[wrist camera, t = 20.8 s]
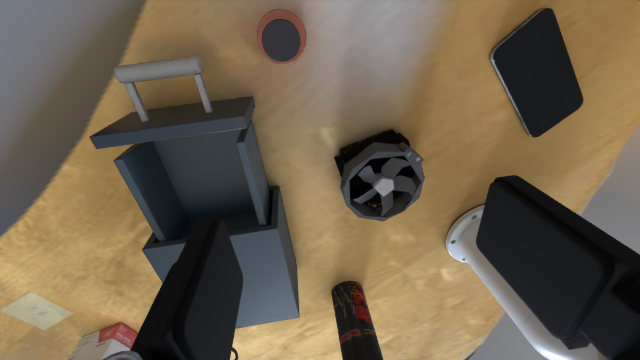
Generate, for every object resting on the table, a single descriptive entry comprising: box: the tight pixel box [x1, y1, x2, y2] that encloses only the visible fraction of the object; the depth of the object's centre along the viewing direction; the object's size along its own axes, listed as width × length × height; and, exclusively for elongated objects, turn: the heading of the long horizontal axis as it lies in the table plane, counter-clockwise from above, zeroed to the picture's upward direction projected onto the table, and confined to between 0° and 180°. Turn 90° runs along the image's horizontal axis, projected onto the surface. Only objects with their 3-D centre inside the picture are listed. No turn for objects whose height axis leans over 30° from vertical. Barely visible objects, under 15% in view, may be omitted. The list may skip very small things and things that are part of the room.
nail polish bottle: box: [257, 9, 306, 64], centre depth 24 cm, size 4×4×10 cm
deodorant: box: [331, 281, 383, 360], centre depth 44 cm, size 6×6×15 cm
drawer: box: [90, 56, 272, 242], centre depth 29 cm, size 20×13×7 cm, turn 6°
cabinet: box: [142, 186, 299, 329], centre depth 37 cm, size 17×15×9 cm
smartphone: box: [491, 8, 583, 137], centre depth 33 cm, size 7×1×15 cm
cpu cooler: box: [334, 129, 425, 221], centre depth 35 cm, size 10×6×10 cm
